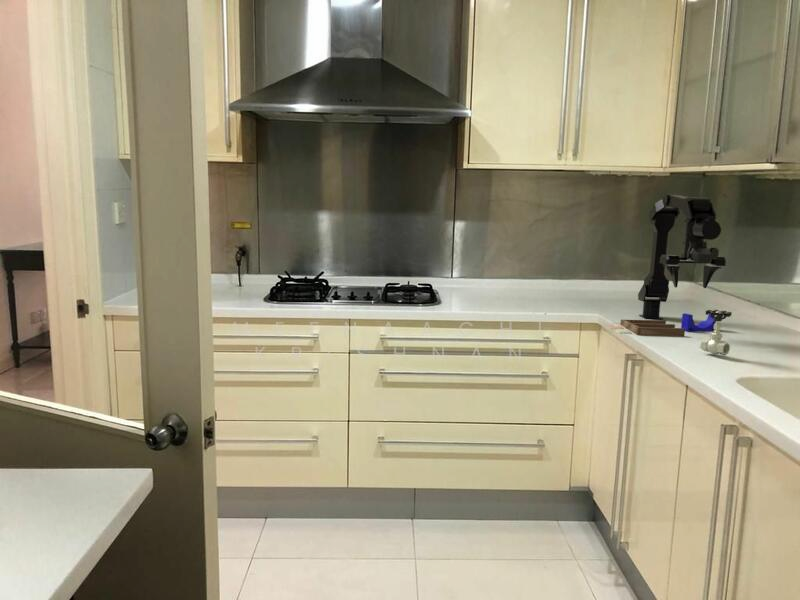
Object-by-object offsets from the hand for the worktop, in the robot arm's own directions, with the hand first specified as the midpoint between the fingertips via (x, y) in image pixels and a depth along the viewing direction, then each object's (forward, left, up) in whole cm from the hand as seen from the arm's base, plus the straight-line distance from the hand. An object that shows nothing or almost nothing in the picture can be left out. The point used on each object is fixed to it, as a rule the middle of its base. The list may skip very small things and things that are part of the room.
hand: (690, 287), depth 206 cm
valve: (+26, -4, -16) cm, 30 cm away
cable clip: (-9, +8, -16) cm, 20 cm away
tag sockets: (-6, -9, -15) cm, 19 cm away
